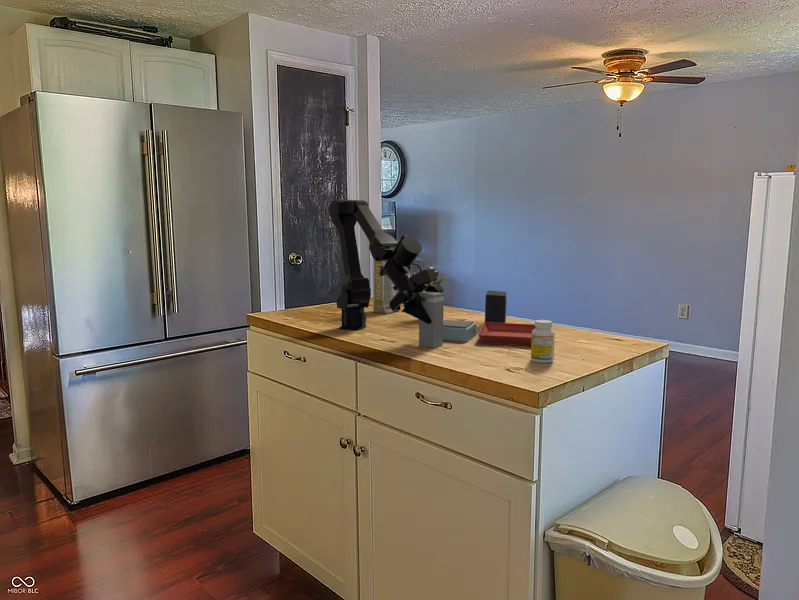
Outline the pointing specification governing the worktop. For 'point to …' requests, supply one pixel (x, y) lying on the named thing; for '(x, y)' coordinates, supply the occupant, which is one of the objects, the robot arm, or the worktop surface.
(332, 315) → the worktop surface
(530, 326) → the plant saucer
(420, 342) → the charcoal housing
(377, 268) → the juice carton
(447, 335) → the slate stand
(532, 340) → the supplement bottle
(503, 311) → the small box
